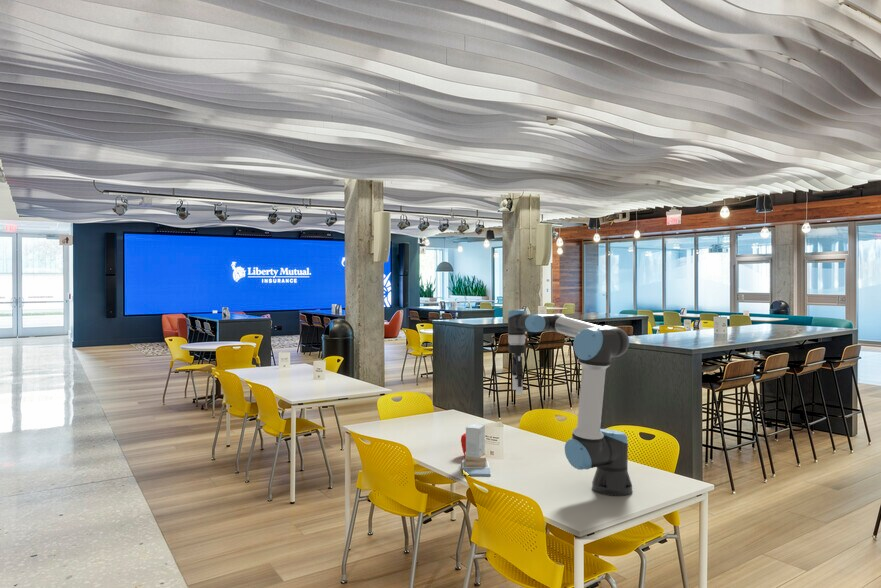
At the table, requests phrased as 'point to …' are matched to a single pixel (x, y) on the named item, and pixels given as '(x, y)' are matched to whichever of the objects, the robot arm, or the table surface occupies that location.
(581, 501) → the table surface
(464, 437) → the apple
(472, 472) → the board
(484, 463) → the plinth
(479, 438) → the small box
